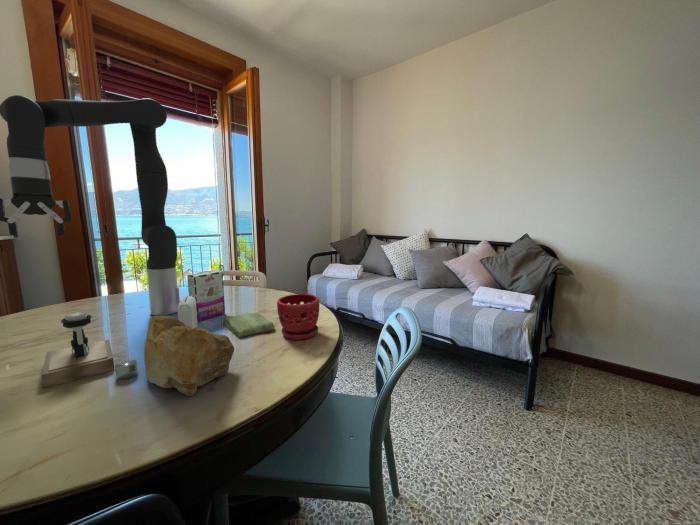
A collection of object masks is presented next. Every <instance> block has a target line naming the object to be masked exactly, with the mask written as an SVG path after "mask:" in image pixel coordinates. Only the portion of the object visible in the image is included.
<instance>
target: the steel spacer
mask: <svg viewBox="0 0 700 525" xmlns="http://www.w3.org/2000/svg"><path fill="white" fill-rule="evenodd" d="M137 361H138V360H135V359H128V360H123V361H120V362H118V363H116V364H114V370H115V378H116V380H117V381H127V380H130V379H133V378H135V377H137V375H138V374H139V373H138V372H139V371H138V364H137V363H138V362H137Z"/></svg>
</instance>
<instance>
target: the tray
mask: <svg viewBox="0 0 700 525" xmlns="http://www.w3.org/2000/svg"><path fill="white" fill-rule="evenodd" d="M88 346H89V351H88ZM88 346H87V347H86V348H87V355H86V356H82V357H78V358H76V357H75V352H74V350H73V355H72V346H69V347H65V348H59V349H55V350H49V351H46V354H45V359H44V362H43V367H42V371H41V380H42V381H41V382H42V388H43V389H46V388H49V387H52V386H56V385H57V386H58V385H61V384H65V383H69V382H72V381H76V380H80V379H83V378H88V377H92V376H95V375H100V374H103V373H106V372H112V371H114V370H115V363H114V356H113V351H112V347H111V342H110V339H104V340H100V341H95V342H94V341H93V342H90V343H89V342H88Z"/></svg>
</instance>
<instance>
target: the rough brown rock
mask: <svg viewBox="0 0 700 525" xmlns="http://www.w3.org/2000/svg"><path fill="white" fill-rule="evenodd" d="M234 352H235V347H234V344H233V343H232V341H231V340H230V338H229V336H227V335H226V334H218V333H214V332H211V331H210V330H209V329H205V328H203V327H195V328H190V327H189V326H186V325H185V324H184V323H182V322H181V321H179V320H178V317H174V316H170V315H169V316H168V315H152V316H151V317H150V318H149V320H148V326H147V331H146V338H145V342H144V347H143V354H144V357H143V359H144V360H143V361H144V365H145V367H144V368H145V376H146V379H147V380H148V381H149V383H151V384H155V385H156V386H158V387H160V388H162V389H171V388H173V389H174V388H175V389H176V390H177V391H178V392H179V393H181V394H183V395H184V396H187V397H192V396H194V394H196V393H197V392H198V388H199V387H202V386H205V385H206V384H208V383H209V382H212V380H214V379H215V378H219V377H223V376H225V375H227V374H228V372H229V368H230V367H229V366H230V363H231V360H232V358H233V355H234Z"/></svg>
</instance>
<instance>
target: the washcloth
mask: <svg viewBox="0 0 700 525" xmlns="http://www.w3.org/2000/svg"><path fill="white" fill-rule="evenodd" d="M224 325H225V326H226V327H227V328H228V329H229V330H230V331H231V332H232V334H234V335H235V336H236V337H237V338H242V337H247V336H253V335H255V334H262V333H268V332H272V331H274V329H275V325H274V323H273V322H272V321H271V320H269V319H268V318H267V317H265V316H264V314H262V312H249V313H239V314H236V315H228V316H227V315H226V317H225V319H224Z"/></svg>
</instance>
